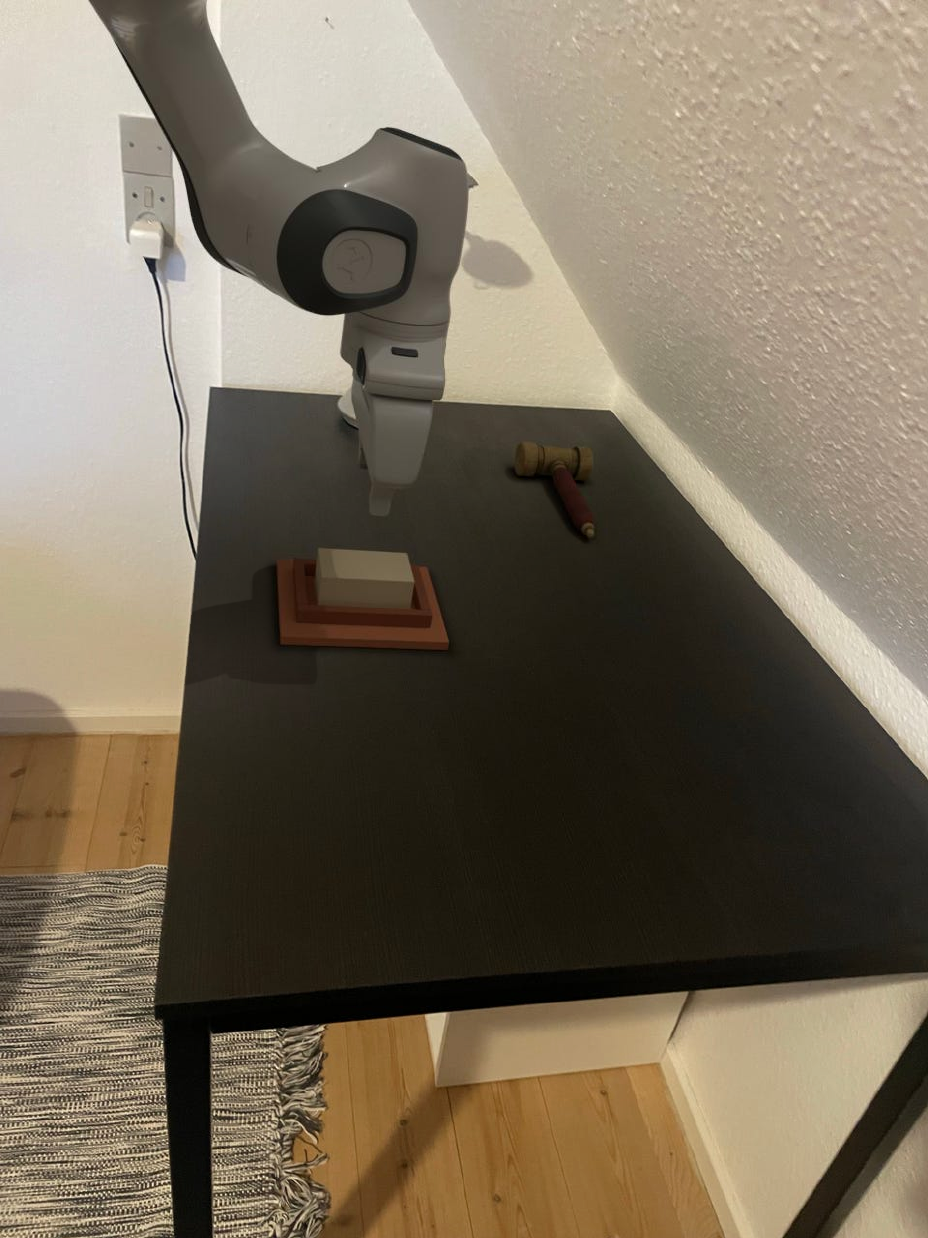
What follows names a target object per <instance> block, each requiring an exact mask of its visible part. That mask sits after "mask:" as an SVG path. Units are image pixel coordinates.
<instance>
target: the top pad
mask: <svg viewBox="0 0 928 1238" xmlns="http://www.w3.org/2000/svg"><path fill="white" fill-rule="evenodd" d="M316 560H317V564H316V573H315V589H316V599H317V605H325V606H347V607H370V608H392V609H410V605H411V600H412V594H413V588H414V578H413V574H412V571H411V567H410V565H411V563H410V560H409V555H408V553H407V552H394V551H392V552H391V551H377V550H376V551H374V550H358V549H343V548H342V549H341V548H327V547H326V548H325V547H318V548H317V556H316Z"/></svg>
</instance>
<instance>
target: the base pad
mask: <svg viewBox="0 0 928 1238" xmlns="http://www.w3.org/2000/svg"><path fill="white" fill-rule="evenodd" d="M316 564H317V559H314V558H312V559H311V558H293V559H290V558H289V559H286V558H277V560H276V581H277V584H276V585H277V601H278V602H277V603H278V604H277V605H278V621H279V622H278V624H279V626H278V627H279V644H280V645H283V646H284V645H285V646H312V647H342V648H372V649H403V650H428V651H429V650H433V651H434V650H435V651H448V650H449V644H450V639H449V638H448V635H447V634H448V633H447V630H446V627H445V623H444V620H443V616H442V614H441V609H440V606H439V603H438V600H437V597H436V593H435V589H434V586H433V583H432V579H431V576H430V572H429V568H428V567H427V566H419V565H418V564H410V567H411V571H412V574H413V578H414V588H413V594H412V600H411V605H410V609H392V608H370V607H347V606H325V605H317V599H316V589H315V573H316Z"/></svg>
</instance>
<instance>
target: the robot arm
mask: <svg viewBox="0 0 928 1238" xmlns="http://www.w3.org/2000/svg"><path fill="white" fill-rule="evenodd" d="M87 1H88V3H89V5H90V6H91V8H92V9H93V11H94V12H95V13H96V15H97V16H98V18H99V20H100V21H101V23H102V24H103V25H104V27H105V28H106V30H107V31H108V33H109V35H110V36H111V38H112V40H113V42H114V44H115V46H116V48H117V50H118V52H119V53H120V55H121V57H122V59H123V61H124V63H125V65H126V67H127V69H128V70H129V72H130V74H131V77H132V78H133V80H134V82H135V83H136V85H137V86H138V90H139V91H140V92H141V94H142V96H143V99H145V102H146V103H147V105H148V107H149V109H150V110H151V112H152V115H153V117H154V118H155V120H156V122H157V124H158V125H159V128H160V129H161V131H162V133H163V135H164V137H165V139H166V140H167V143H168V144H169V146H170V148H171V150H172V152H173V154H174V156H175V158H176V160H177V163H178V165H179V168H180V171H181V174H182V178H183V182H184V185H185V191H186V196H187V197H186V198H187V202H188V208H189V213H190V218H191V222H192V226H193V229H194V231H195V234H196V236H197V238H198V241H199V242H200V244H201V246H202V247H203V249H204V250H205V251H206V253H207V254H208V255H209V256H210V257H211V258H212V259H213V260H214V261H215V262H217V263H218V264H219V265H220V266H222V267H224V268H226V269H228V270H231V271H232V272H235V273H237V274H240V275H241V276H244V277H246V278H249V279H251V280H252V281H253V282H255V283H257V284H258V285H260V286H261V287H263V288H265V290H268V291H269V292H271V293H272V294H274V295H276V296H278V297H280V298H281V299H283V300H284V301H286V302H288V303H290V304H291V305H293V306H295V307H297V308H298V309H300V310H302V311H305V312H308V313H312V314H315V315H319V316H325V317H326V316H327V317H328V316H329V317H331V316H340V315H343V322H342V332H341V339H340V349H339V354H340V355H339V356H340V358H341V359H342V360H343V361H344V362H345V363H346V364H348V365H349V366H350V368H351V369H352V371H351V376H352V382H351V393H350V394H351V396H350V401H351V405H352V408H353V413H354V416H355V421H356V426H357V429H358V445H359V447H358V452H357V453H358V454H357V463H358V466H359V468H360V469H361V470H365V471H366V470H367V471H368V475H369V480H370V483H371V489H369V493H368V501H367V506H368V511H369V514H370V515H371V516H374V517H375V516H376V517H387V516H388V515H389V514H390V511H391V506H392V500H393V498H394V496H395V494H396V492H397V490H410V489H412V487H413V486H414V485H415V482H416V481H417V479H418V477H419V474H420V470H421V466H422V462H423V459H424V456H425V455H424V454H425V451H426V447H427V442H428V438H429V435H430V430H431V425H432V421H433V413H434V402H435V401H436V402H437V401H438V402H439V401H441V400H442V399H443V396H444V392H445V388H446V387H445V386H446V369H445V355H446V349H447V339H448V332H449V329H450V323H451V322H450V321H451V315H452V308H451V290H452V289H451V288H452V284H453V281H454V279H455V277H456V275H457V272H458V271H459V269H460V264H461V260H462V254H463V248H464V242H465V235H466V229H467V220H468V213H469V212H468V211H469V196H470V194H469V191H470V190H469V184H470V183H469V174H468V173H469V172H468V169H467V165H466V163H465V161H464V159H463V158H462V157H461V156H460V154H459V153H458V152H456V151H455V150H453V148H451V147H448V146H446V145H443V144H440V143H438V142H435V141H433V140H431V139H428V138H424V137H421V136H418V135H416V134H414V133H411V132H408V131H406V130H403V129H401V128H397V127H390V126H386V127H380V128H377V129H376V130H375V132H374V134H373V135H372V137H371V138H370V139H369V140H368V141H367V142H366V143H365V144H363V145H362V146H360V147H359V148H357V149H356V150H355V151H354V152H352V153H350V154H348V155H346V156H343V157H342V158H340V159H338V160H335V161H333V162H331V163H327V164H323V165H320V166H316V168H314V167H313V166H310V165H308V164H306V163H304V162H301V161H299V160H297V159H294V158H293V157H291V156H289V155H288V153H287V154H286V153H285V152H283V151H282V150H281V149H280V148H278V147H277V146H275V145H274V144H273V143H272V142H271V141H270V140H268V139H267V138H266V137H265V136H264V135H263V134H262V133H261V131H259V129H258V128H257V127H256V126H255V125H254V123H253V121H252V120H251V117H250V115H249V113H248V110H247V109H246V107H245V104H244V102H243V100H242V98H241V96H240V93H239V91H238V89H237V86H236V84H235V81H234V80H233V77H232V76H231V73H230V70H229V69H228V67H227V64H226V62H225V60H224V58H223V55H222V53H221V51H220V48H219V46H218V44H217V42H216V40H215V37H214V35H213V32H212V30H211V26H210V23H209V18H208V11H207V4H208V3H207V2H208V0H87Z"/></svg>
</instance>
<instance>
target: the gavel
mask: <svg viewBox="0 0 928 1238" xmlns="http://www.w3.org/2000/svg"><path fill="white" fill-rule="evenodd" d="M593 467H594V454H593V451H592V448H590V447H588V446H574V447H573V448H570V447H561V446H551V445H550V446H549V445H540V446H538V445H537V444H536V442H532V441H520V442H519V443H518V444H517V446H516V449H515V453H514V470H515V473H516V474H517V476H522V477H533V476H534V475H535V474H537V475H539V476H550V477H552V481H553V485H554V486H555V488H556V490H557V492H558V495H559V496H560V498H561V501H562V503H563V504H564V507H565V509H566V512H567V513H568V515H569V518H570V519H571V522H572V523H573V526H574V527H575V528H576V530H578V531H580V532H581V533H582V534H583V535H584V536H586V537H587V538H590V539H591V538H594V537H595V518H594V516H593V514H592V512H591V510H590V508H589V505H588V504H587V502H586V500H585V499H584V497H583V494H582V493H581V491H580V489H579V487H578V485H577V483H576V481H588V479H589V478H590V477H591V475H592V472H593Z"/></svg>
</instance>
